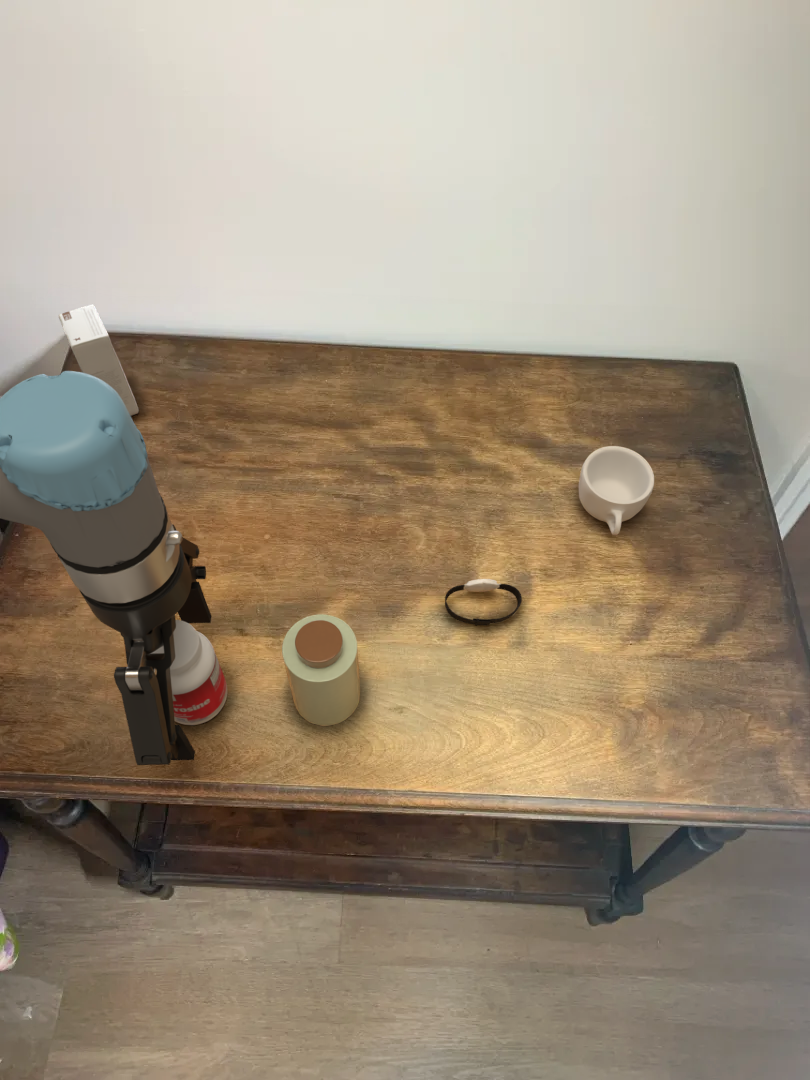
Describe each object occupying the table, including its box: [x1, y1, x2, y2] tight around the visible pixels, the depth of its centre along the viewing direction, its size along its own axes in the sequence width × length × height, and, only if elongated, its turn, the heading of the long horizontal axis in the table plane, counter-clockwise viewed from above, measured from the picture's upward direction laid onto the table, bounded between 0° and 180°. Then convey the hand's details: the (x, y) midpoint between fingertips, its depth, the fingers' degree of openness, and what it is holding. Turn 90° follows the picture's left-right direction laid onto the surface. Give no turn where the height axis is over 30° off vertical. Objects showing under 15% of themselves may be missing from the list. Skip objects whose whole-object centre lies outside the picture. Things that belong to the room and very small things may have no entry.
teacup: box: [578, 445, 655, 536], centre depth 88 cm, size 10×8×5 cm
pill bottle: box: [153, 619, 228, 726], centre depth 72 cm, size 6×6×11 cm
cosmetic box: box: [58, 303, 140, 417], centre depth 93 cm, size 6×4×12 cm
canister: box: [281, 613, 361, 727], centre depth 73 cm, size 6×6×11 cm
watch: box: [444, 578, 523, 627], centre depth 81 cm, size 8×5×4 cm, turn 93°
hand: (188, 684), depth 75 cm, fingers open, 13 cm apart
